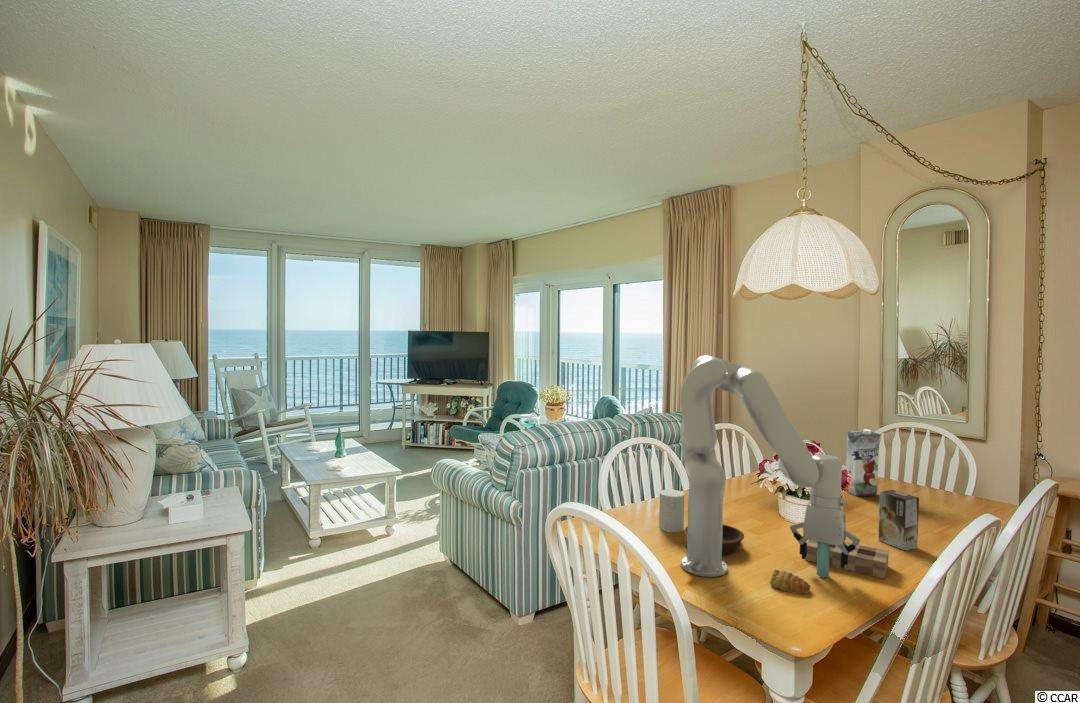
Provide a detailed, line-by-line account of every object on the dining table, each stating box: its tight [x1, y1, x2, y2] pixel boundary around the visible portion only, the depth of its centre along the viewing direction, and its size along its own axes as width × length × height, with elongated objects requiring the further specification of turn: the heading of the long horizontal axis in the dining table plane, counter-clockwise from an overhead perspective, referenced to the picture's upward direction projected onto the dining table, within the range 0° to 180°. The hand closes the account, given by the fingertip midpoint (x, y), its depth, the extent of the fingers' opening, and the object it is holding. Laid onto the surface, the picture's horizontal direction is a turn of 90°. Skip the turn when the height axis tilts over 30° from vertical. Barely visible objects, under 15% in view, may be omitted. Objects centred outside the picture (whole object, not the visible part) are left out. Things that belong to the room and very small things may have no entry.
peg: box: [816, 542, 830, 578], centre depth 154 cm, size 3×3×10 cm
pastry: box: [769, 569, 811, 595], centre depth 147 cm, size 9×7×4 cm
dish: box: [684, 524, 745, 556], centre depth 174 cm, size 18×22×5 cm
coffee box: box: [878, 489, 920, 551], centre depth 176 cm, size 9×6×16 cm
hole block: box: [804, 539, 889, 579], centre depth 162 cm, size 10×20×4 cm, turn 54°
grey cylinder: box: [658, 488, 685, 533], centre depth 189 cm, size 8×8×12 cm
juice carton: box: [845, 428, 881, 497], centre depth 229 cm, size 9×10×27 cm
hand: (823, 562), depth 154 cm, fingers open, 9 cm apart
